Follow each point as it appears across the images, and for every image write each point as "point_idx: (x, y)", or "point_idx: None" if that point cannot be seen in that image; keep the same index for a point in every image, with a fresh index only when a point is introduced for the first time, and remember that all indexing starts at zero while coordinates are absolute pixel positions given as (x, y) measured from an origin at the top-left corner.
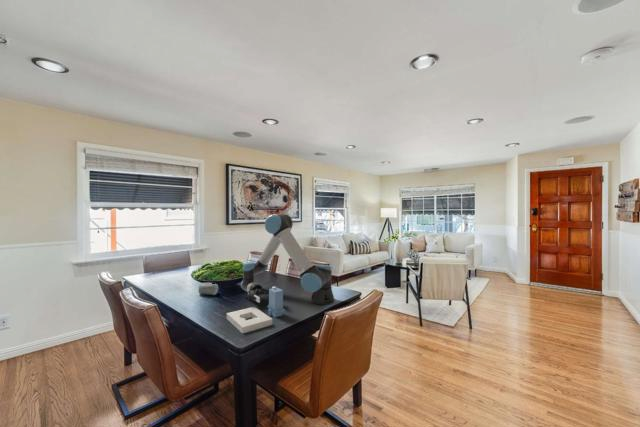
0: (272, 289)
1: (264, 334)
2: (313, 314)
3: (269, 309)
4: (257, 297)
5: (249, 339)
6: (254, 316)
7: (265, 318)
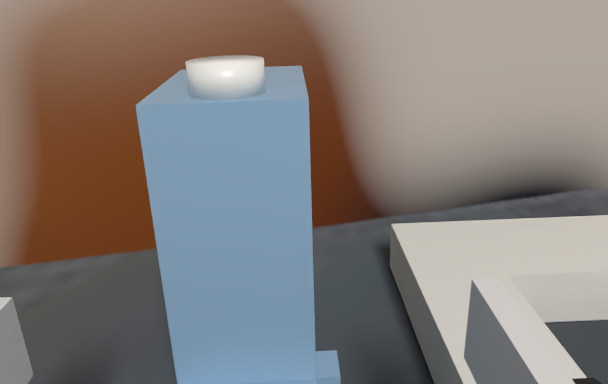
0: (271, 88)
1: (474, 216)
2: (20, 267)
3: (325, 374)
4: (523, 315)
5: (568, 210)
6: None
7: (444, 241)
